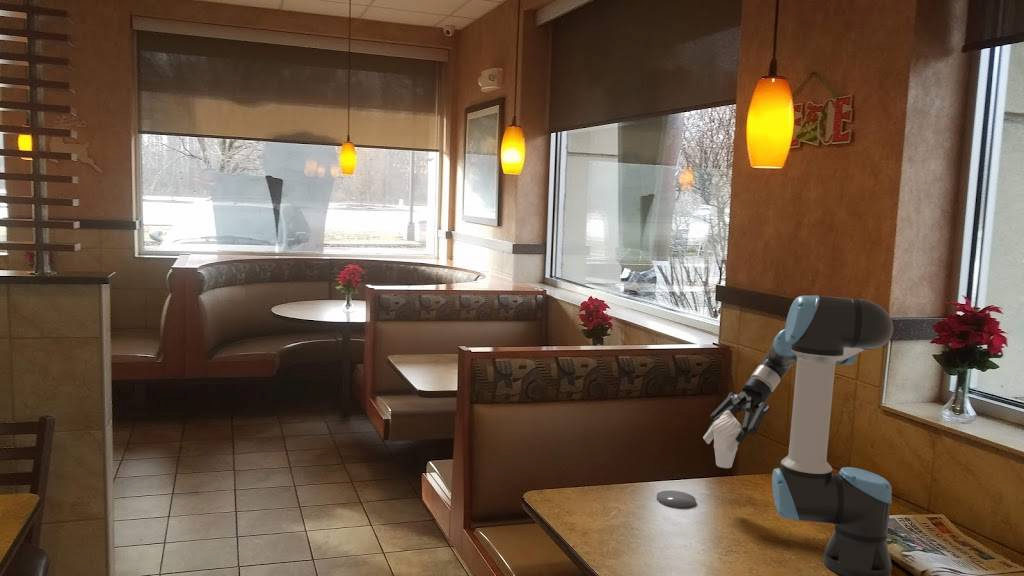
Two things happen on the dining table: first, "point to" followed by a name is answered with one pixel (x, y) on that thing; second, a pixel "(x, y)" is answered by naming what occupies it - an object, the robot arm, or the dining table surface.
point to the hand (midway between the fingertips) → (717, 445)
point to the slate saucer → (676, 499)
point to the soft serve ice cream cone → (724, 438)
